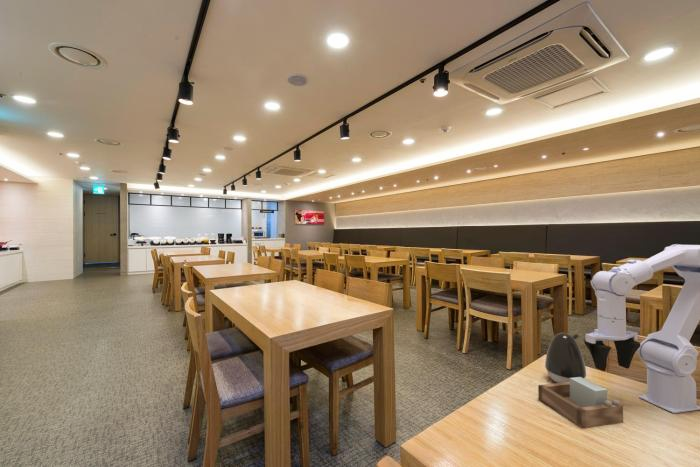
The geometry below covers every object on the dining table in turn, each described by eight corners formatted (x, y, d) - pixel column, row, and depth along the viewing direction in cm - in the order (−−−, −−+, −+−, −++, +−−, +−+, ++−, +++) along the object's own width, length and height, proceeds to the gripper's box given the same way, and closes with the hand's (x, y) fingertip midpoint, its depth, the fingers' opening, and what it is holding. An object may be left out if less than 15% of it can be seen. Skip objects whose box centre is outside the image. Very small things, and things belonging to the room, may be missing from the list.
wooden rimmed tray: (575, 395, 83) (574, 377, 83) (623, 422, 71) (623, 401, 71) (538, 399, 81) (538, 381, 81) (582, 428, 69) (581, 407, 69)
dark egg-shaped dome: (595, 388, 87) (594, 336, 88) (568, 393, 85) (567, 340, 85) (562, 373, 97) (562, 326, 97) (537, 377, 94) (536, 329, 95)
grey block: (582, 398, 81) (582, 376, 81) (609, 413, 74) (609, 389, 74) (569, 400, 80) (569, 377, 80) (595, 415, 73) (595, 391, 73)
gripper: (617, 311, 84) (618, 359, 84) (574, 314, 81) (575, 364, 81) (646, 318, 77) (647, 370, 77) (600, 321, 74) (601, 375, 74)
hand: (612, 368), depth 78 cm, fingers open, 7 cm apart
